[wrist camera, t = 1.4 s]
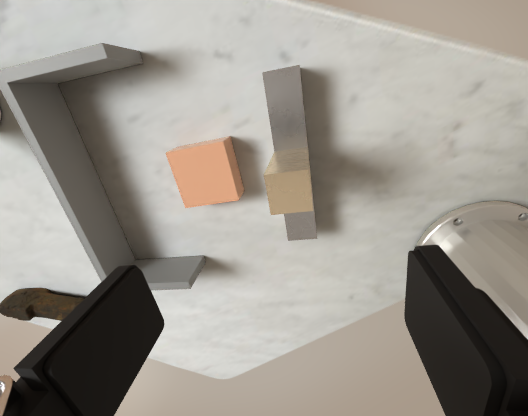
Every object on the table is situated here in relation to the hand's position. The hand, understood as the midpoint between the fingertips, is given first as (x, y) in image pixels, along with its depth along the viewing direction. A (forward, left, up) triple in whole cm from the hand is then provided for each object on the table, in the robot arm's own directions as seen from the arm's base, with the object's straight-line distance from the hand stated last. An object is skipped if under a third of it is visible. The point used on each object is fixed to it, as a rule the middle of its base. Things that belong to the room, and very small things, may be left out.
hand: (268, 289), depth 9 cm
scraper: (0, 0, -20) cm, 20 cm away
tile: (+9, 0, -20) cm, 21 cm away
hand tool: (+37, +18, -20) cm, 45 cm away
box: (+18, 0, -19) cm, 26 cm away
